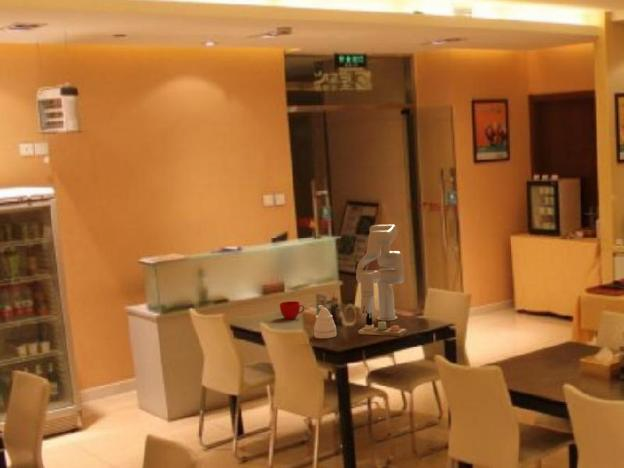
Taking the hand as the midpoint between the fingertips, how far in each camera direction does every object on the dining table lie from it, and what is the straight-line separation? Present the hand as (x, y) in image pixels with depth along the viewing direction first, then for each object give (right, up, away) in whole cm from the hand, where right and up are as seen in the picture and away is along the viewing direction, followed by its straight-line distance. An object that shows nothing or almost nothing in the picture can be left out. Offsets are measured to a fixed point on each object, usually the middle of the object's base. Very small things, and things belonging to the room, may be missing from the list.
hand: (369, 324), depth 505 cm
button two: (+7, -2, -3) cm, 8 cm away
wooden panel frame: (+7, -5, -3) cm, 9 cm away
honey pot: (-26, -7, 0) cm, 26 cm away
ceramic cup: (-46, -2, +58) cm, 74 cm away
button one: (0, -4, +1) cm, 4 cm away
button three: (+14, -4, -7) cm, 17 cm away
